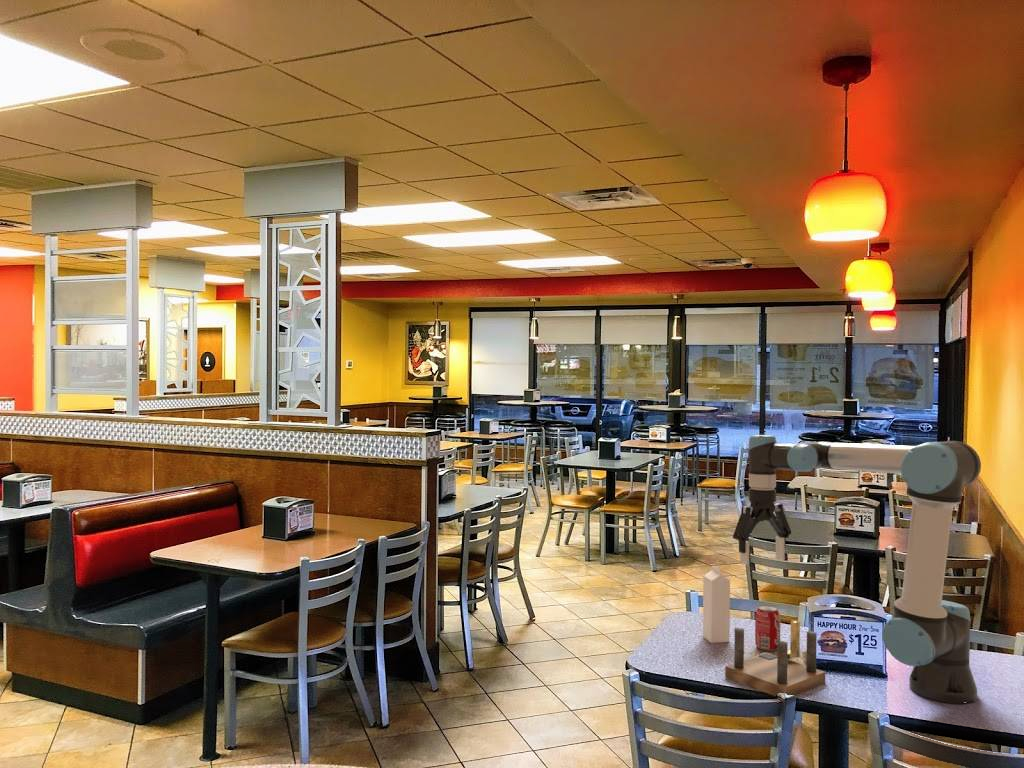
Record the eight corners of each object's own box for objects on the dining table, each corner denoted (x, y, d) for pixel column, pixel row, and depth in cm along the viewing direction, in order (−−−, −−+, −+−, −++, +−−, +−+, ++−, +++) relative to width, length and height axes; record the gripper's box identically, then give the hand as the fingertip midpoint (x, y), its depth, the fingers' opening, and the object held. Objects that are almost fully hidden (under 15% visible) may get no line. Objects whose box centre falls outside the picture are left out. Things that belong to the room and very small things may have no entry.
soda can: (776, 644, 234) (777, 604, 234) (782, 652, 227) (783, 611, 227) (752, 643, 235) (753, 603, 234) (757, 651, 228) (758, 610, 227)
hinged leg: (790, 660, 211) (790, 625, 211) (782, 657, 213) (783, 623, 213) (801, 656, 214) (801, 622, 214) (793, 653, 216) (793, 619, 216)
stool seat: (825, 683, 204) (825, 633, 204) (785, 699, 193) (785, 647, 193) (765, 663, 218) (766, 616, 218) (725, 677, 208) (725, 628, 207)
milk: (711, 643, 235) (711, 570, 234) (702, 636, 241) (702, 565, 240) (730, 642, 236) (730, 569, 236) (720, 635, 242) (721, 564, 242)
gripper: (784, 484, 235) (784, 555, 235) (720, 489, 224) (720, 563, 224) (803, 487, 229) (804, 559, 228) (738, 492, 218) (738, 568, 217)
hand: (762, 561), depth 226 cm, fingers open, 13 cm apart
